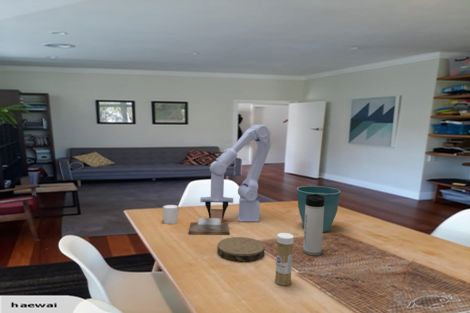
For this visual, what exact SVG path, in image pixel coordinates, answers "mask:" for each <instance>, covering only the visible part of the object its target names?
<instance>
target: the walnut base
mask: <svg viewBox="0 0 470 313" xmlns="http://www.w3.org/2000/svg"><path fill="white" fill-rule="evenodd" d="M229 227H230V226H229V222H222V223H221V222H220V218H209V217H198V221H196V222H195V221H194V222H192V221H191V222H190V223H189V228H188V235H204V236H207V235H208V236H209V235H210V236H212V235H214V236H216V235H217V236H218V235H220V236H230V228H229Z"/></svg>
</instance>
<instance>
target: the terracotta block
mask: <svg viewBox="0 0 470 313" xmlns="http://www.w3.org/2000/svg"><path fill="white" fill-rule="evenodd" d="M222 209H223V208H211V218H220V222H221V223H223V219H222Z"/></svg>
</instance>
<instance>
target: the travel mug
mask: <svg viewBox="0 0 470 313" xmlns="http://www.w3.org/2000/svg"><path fill="white" fill-rule="evenodd" d="M324 199H325V198H324V197H323V196H321V195H319V194H312V195H307V196H306V205H305V224H304V228H303V242H302V243H303V245H302V252H303V253H304V254H306V255H309V256H320V255H321V254H322V251H323V250H322V249H323V248H322V247H323V234H324V232H323V219H324Z"/></svg>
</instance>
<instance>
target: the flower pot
mask: <svg viewBox="0 0 470 313" xmlns="http://www.w3.org/2000/svg"><path fill="white" fill-rule="evenodd" d="M296 192H297V207H298V212H299V215H300V218H301V223H302V228H303V229H304V224H305V205H306V196H307V195H312V194H319V195H321V196H323V197H324V198H325V199H324V219H323V233H324V232H330V231H331V230H332V225H333V223H334V221H335V218H336V215H337V213H338V210H339V209H338V208H339V203H340V202H339V201H340V195H341V190H339V189H337V188H333V187H330V186H329V187H328V186H319V185H317V186H316V185H306V186H305V185H303V186H298V187H297V188H296Z"/></svg>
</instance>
